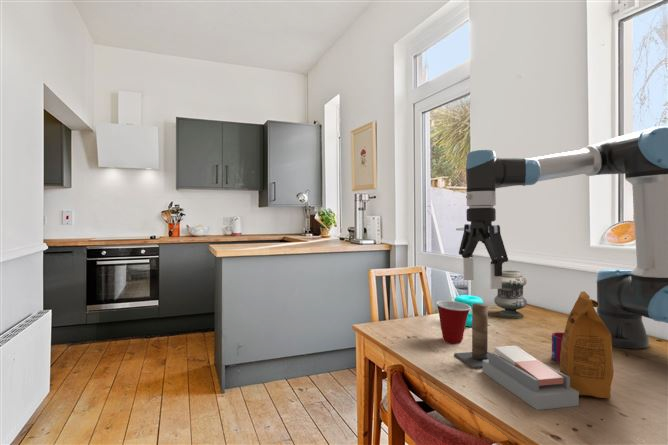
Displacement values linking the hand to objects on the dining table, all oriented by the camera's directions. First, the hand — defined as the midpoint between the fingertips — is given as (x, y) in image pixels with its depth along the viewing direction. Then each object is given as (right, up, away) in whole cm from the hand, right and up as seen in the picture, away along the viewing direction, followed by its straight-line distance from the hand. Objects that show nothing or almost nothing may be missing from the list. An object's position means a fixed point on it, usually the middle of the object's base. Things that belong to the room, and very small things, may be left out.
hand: (481, 284), depth 106 cm
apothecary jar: (+30, -21, +49) cm, 61 cm away
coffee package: (+18, -22, -17) cm, 33 cm away
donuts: (+9, -21, +37) cm, 43 cm away
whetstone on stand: (+4, -22, -16) cm, 27 cm away
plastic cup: (-2, -21, +17) cm, 27 cm away
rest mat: (0, -21, 0) cm, 21 cm away
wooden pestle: (0, -21, 0) cm, 21 cm away
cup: (+25, -22, 0) cm, 33 cm away
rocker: (+4, -17, -16) cm, 24 cm away
